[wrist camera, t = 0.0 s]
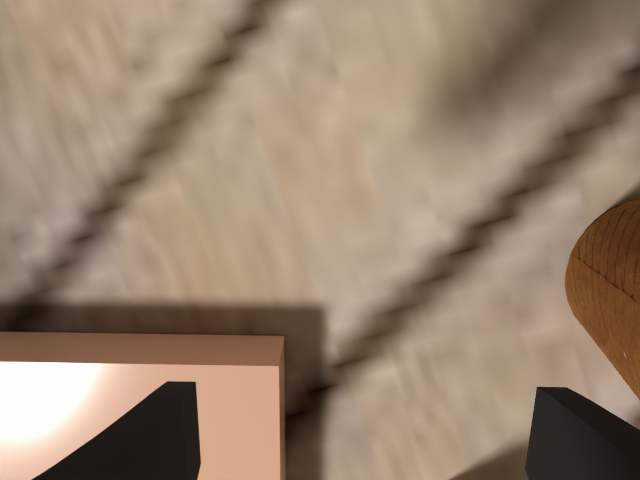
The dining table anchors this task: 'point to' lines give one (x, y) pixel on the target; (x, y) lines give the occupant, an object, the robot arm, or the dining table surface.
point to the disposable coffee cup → (610, 287)
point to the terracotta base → (141, 396)
